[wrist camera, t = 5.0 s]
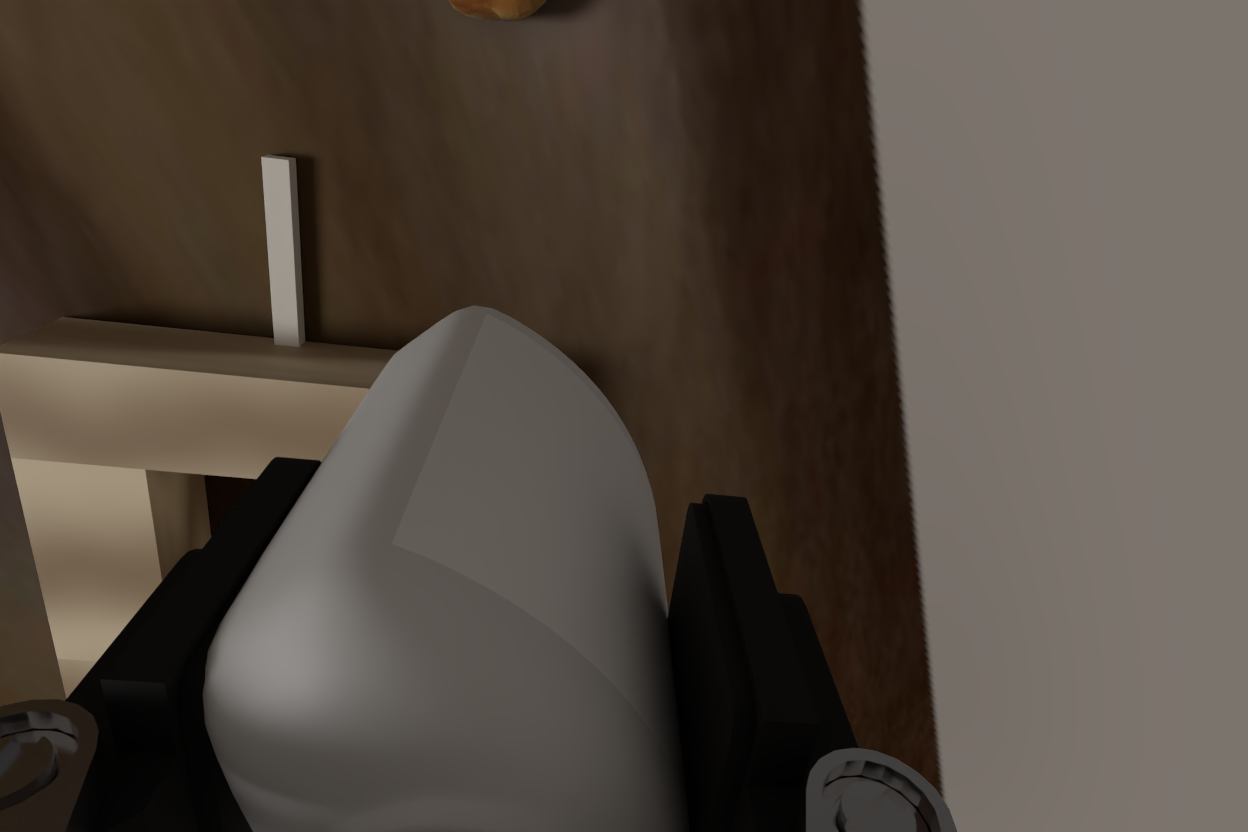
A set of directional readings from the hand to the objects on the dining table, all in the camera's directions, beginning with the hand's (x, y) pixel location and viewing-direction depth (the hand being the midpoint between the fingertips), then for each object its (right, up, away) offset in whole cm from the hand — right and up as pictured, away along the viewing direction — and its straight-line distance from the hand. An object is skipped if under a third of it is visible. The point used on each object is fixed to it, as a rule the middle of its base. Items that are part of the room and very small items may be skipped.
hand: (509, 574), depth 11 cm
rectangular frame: (-11, -2, +19) cm, 22 cm away
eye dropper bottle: (0, +2, +4) cm, 4 cm away
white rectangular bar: (-9, +7, +14) cm, 19 cm away
